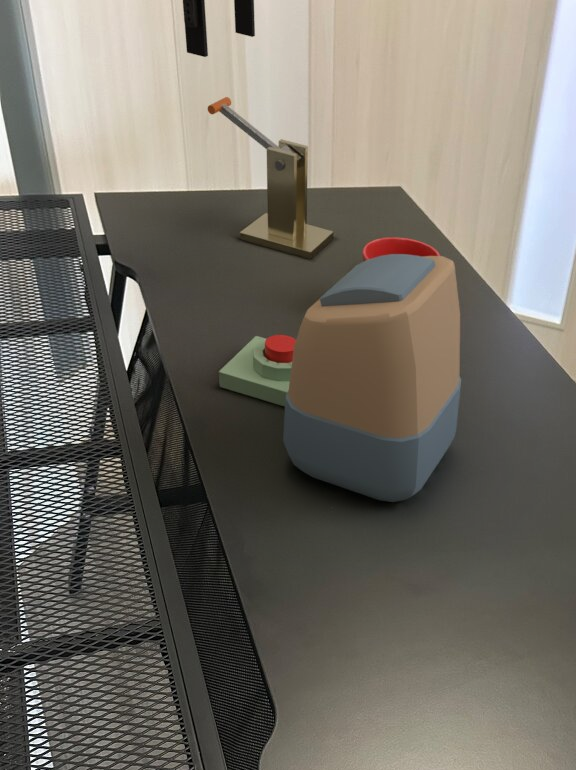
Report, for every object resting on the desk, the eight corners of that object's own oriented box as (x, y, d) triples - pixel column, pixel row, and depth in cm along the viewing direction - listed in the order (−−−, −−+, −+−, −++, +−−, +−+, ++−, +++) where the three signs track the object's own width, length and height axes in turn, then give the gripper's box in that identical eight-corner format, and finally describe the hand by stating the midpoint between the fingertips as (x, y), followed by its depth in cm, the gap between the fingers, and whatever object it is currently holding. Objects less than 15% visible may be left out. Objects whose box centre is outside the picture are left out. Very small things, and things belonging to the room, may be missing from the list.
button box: (219, 387, 105) (217, 358, 102) (256, 350, 112) (255, 322, 109) (309, 414, 104) (309, 385, 101) (340, 375, 111) (342, 348, 108)
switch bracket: (240, 239, 134) (236, 145, 124) (265, 220, 140) (264, 129, 130) (310, 259, 133) (312, 166, 123) (333, 238, 139) (336, 148, 129)
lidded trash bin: (336, 403, 106) (345, 215, 90) (461, 444, 104) (493, 259, 87) (271, 476, 95) (267, 275, 78) (410, 524, 92) (436, 327, 76)
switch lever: (205, 114, 125) (210, 99, 123) (221, 105, 128) (227, 91, 126) (284, 178, 127) (291, 164, 126) (299, 168, 131) (305, 154, 129)
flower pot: (343, 309, 123) (347, 242, 116) (405, 295, 129) (412, 231, 122) (384, 344, 118) (390, 276, 111) (447, 328, 123) (456, 263, 116)
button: (259, 358, 104) (259, 345, 103) (273, 344, 107) (273, 331, 106) (289, 367, 104) (289, 354, 103) (303, 352, 107) (303, 340, 105)
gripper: (186, -146, 95) (201, 70, 110) (285, -156, 112) (286, 32, 127) (126, -160, 96) (149, 56, 111) (233, -167, 113) (240, 21, 128)
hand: (222, 44), depth 119 cm, fingers open, 13 cm apart
